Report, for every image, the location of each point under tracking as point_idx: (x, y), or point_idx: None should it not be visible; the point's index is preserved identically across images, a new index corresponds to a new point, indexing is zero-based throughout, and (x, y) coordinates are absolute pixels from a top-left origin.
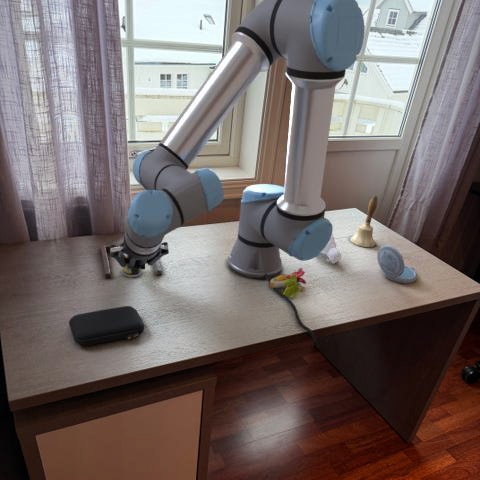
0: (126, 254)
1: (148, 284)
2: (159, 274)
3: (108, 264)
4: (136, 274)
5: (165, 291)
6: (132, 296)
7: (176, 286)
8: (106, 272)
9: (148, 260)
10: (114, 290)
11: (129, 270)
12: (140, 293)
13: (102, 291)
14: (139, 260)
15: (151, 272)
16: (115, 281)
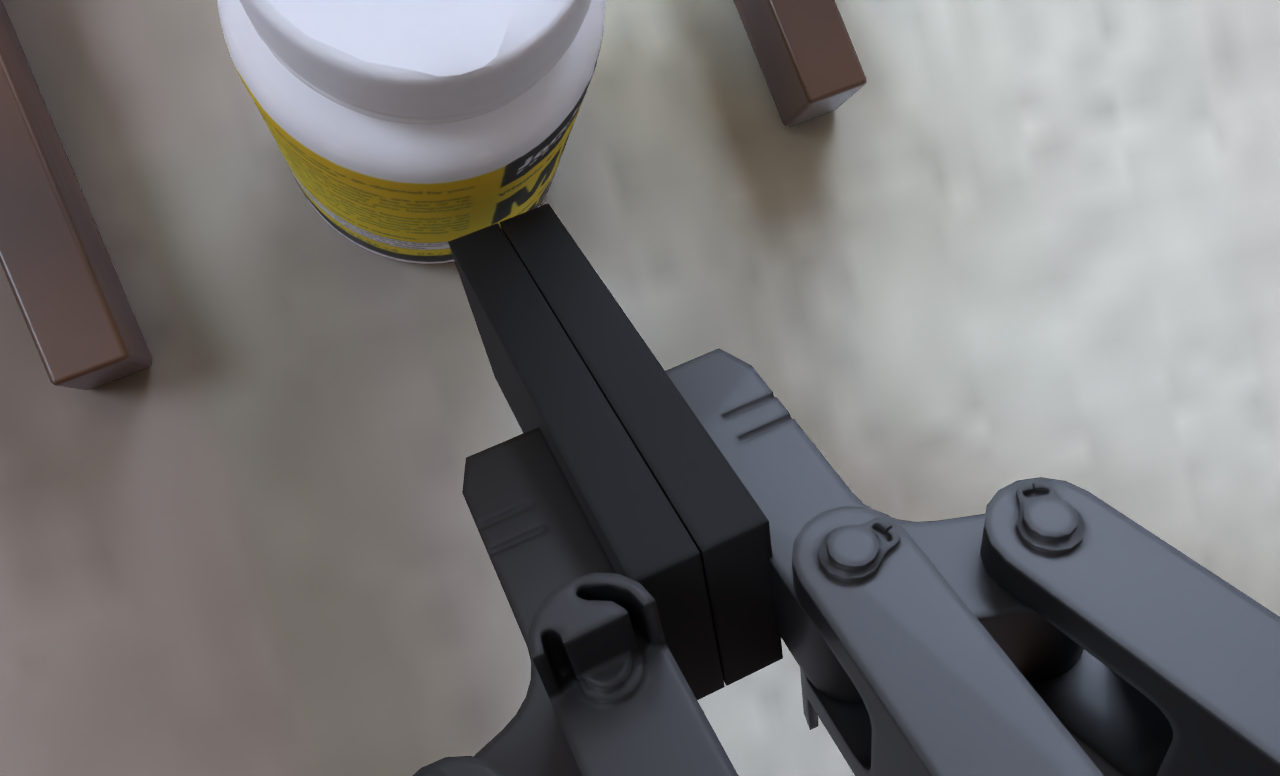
0: (355, 148)
1: None
2: (814, 116)
3: (8, 74)
4: None
5: (971, 506)
6: None
7: (1072, 350)
8: (57, 343)
9: (1029, 663)
10: (312, 670)
11: (424, 244)
12: None
13: (147, 746)
14: (809, 644)
15: (686, 62)
16: (253, 425)
